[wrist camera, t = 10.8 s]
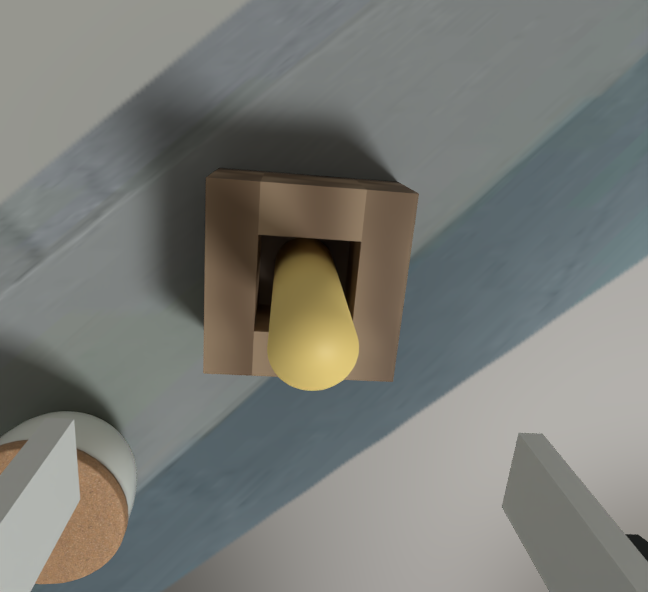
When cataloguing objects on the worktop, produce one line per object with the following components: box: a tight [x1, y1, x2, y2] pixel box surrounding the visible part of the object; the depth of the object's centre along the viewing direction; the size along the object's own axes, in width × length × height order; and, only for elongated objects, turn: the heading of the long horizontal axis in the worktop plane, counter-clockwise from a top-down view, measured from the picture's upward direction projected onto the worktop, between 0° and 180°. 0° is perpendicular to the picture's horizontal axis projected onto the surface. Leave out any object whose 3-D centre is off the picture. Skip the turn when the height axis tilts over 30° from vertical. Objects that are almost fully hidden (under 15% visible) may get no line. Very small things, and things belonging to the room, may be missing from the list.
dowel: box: [267, 237, 359, 391], centre depth 29 cm, size 4×4×14 cm
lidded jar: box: [0, 411, 137, 584], centre depth 36 cm, size 11×11×9 cm
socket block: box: [203, 168, 419, 382], centre depth 34 cm, size 12×12×6 cm
